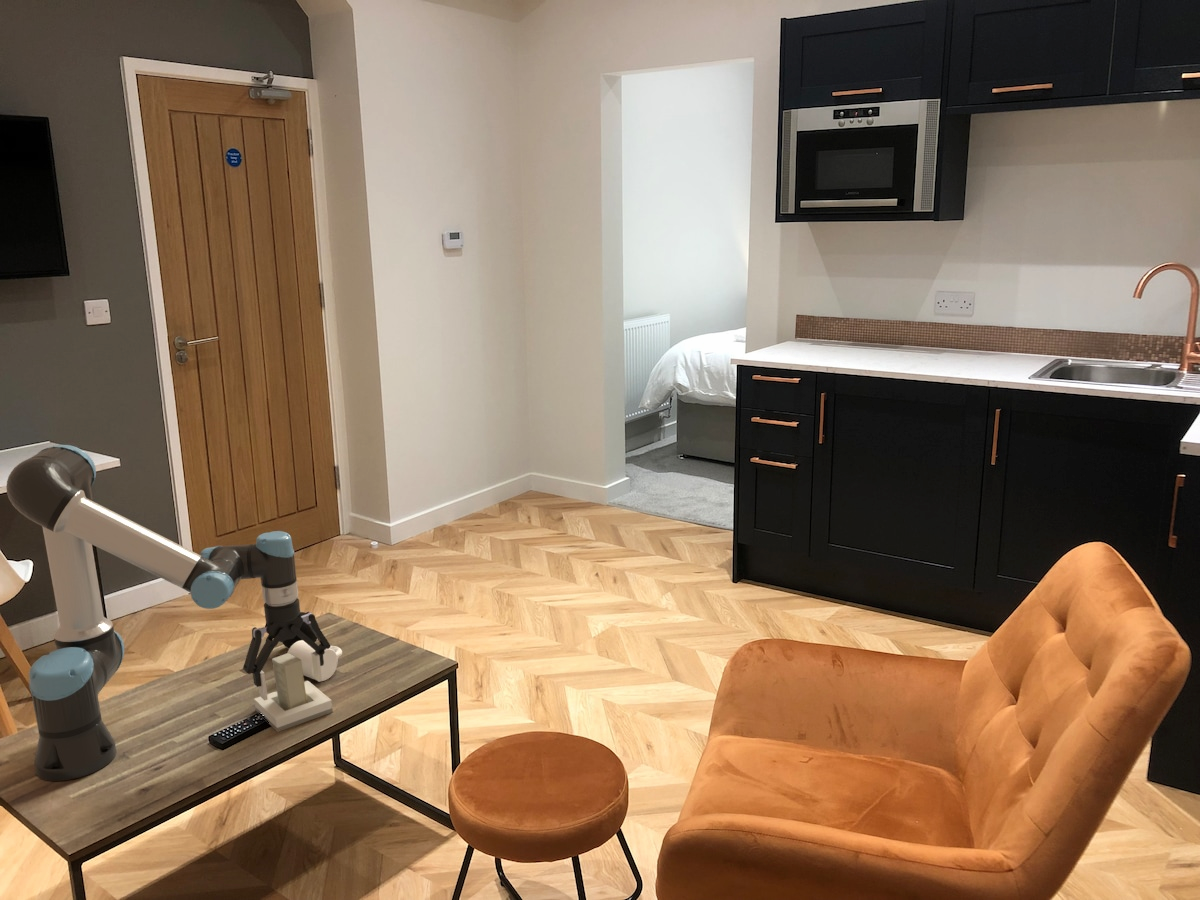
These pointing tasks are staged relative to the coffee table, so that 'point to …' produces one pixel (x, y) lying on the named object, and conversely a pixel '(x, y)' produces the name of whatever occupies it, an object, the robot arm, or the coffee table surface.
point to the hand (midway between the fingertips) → (291, 688)
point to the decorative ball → (305, 629)
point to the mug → (304, 653)
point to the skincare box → (289, 681)
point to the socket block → (284, 719)
